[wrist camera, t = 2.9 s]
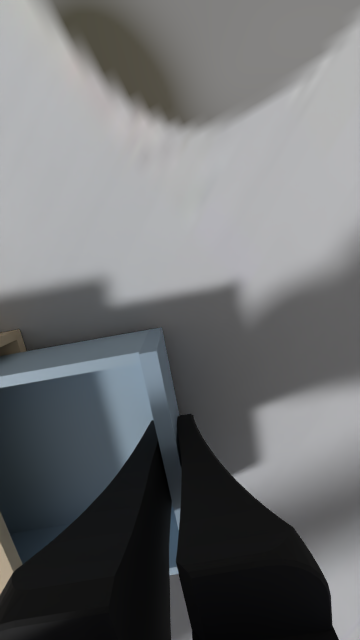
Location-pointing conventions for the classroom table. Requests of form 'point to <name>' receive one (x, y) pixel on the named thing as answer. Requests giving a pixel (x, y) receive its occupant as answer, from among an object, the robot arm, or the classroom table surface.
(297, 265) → the classroom table surface
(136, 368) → the tray
